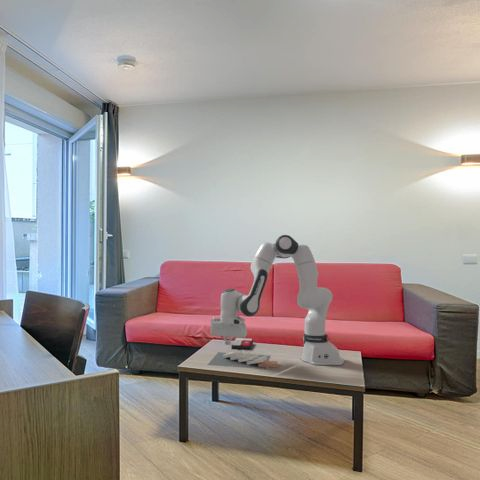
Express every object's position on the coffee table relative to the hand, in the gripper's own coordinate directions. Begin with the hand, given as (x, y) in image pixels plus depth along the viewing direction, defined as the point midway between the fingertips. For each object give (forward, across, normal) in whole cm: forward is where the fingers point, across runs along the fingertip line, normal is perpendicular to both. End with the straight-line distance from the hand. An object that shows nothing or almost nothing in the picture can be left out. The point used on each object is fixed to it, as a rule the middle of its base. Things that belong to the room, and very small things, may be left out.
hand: (228, 344), depth 207 cm
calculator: (+8, 0, +25) cm, 26 cm away
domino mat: (+8, +8, -2) cm, 11 cm away
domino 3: (+6, +9, -4) cm, 11 cm away
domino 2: (+6, +4, -2) cm, 7 cm away
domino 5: (+6, +19, -7) cm, 21 cm away
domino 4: (+6, +14, -6) cm, 16 cm away
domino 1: (+6, -2, +1) cm, 7 cm away
